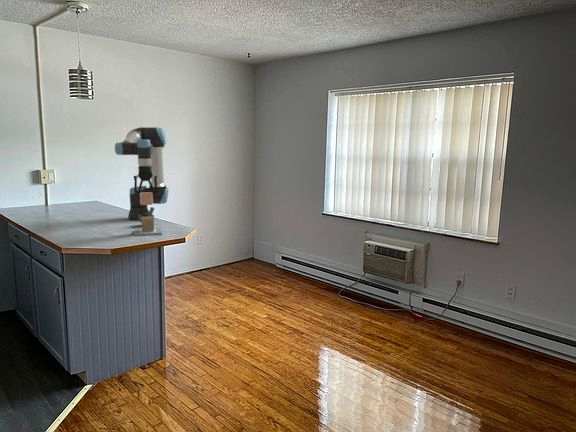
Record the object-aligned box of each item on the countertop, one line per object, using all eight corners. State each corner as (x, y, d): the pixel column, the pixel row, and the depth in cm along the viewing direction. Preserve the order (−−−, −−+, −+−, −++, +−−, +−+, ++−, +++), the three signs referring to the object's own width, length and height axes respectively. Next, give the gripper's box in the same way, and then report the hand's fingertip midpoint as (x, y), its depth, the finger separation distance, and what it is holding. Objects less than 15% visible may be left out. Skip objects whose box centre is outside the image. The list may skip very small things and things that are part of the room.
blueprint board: (134, 230, 277) (134, 228, 277) (161, 229, 282) (160, 227, 282) (134, 236, 262) (133, 234, 262) (162, 234, 267) (162, 232, 267)
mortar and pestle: (144, 227, 287) (143, 209, 285) (136, 225, 293) (135, 208, 291) (159, 225, 296) (158, 207, 294) (151, 223, 302) (150, 206, 300)
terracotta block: (141, 203, 271) (141, 192, 270) (151, 203, 273) (151, 192, 272) (141, 205, 265) (140, 193, 264) (151, 204, 267) (151, 193, 266)
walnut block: (142, 229, 274) (141, 217, 273) (153, 229, 277) (153, 216, 275) (142, 232, 268) (141, 219, 267) (154, 231, 270) (153, 218, 269)
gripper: (127, 166, 259) (130, 205, 263) (161, 165, 265) (163, 204, 268) (128, 165, 266) (130, 203, 270) (161, 165, 272) (162, 202, 276)
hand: (146, 203), depth 269 cm, fingers closed on terracotta block, 6 cm apart
